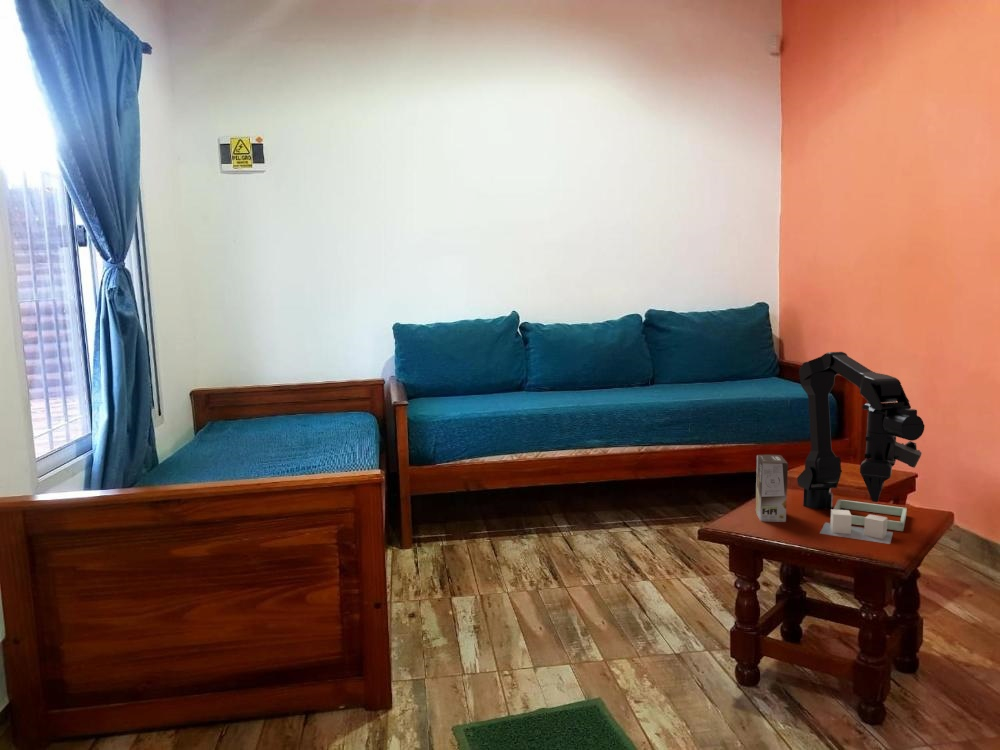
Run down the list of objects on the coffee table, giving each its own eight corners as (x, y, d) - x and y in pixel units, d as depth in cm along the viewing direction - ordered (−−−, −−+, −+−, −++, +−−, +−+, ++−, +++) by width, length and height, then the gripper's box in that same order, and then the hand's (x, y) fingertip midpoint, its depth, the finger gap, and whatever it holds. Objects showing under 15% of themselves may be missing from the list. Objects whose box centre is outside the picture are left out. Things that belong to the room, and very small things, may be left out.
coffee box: (786, 525, 189) (789, 463, 187) (760, 524, 190) (762, 462, 188) (779, 514, 198) (781, 454, 196) (754, 513, 199) (755, 453, 197)
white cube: (832, 532, 181) (833, 514, 180) (830, 527, 185) (831, 509, 184) (850, 533, 180) (851, 515, 179) (848, 528, 184) (848, 510, 183)
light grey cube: (863, 535, 179) (864, 517, 178) (868, 531, 181) (869, 514, 181) (882, 538, 176) (883, 521, 176) (886, 534, 179) (887, 517, 178)
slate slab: (819, 537, 181) (819, 533, 180) (825, 526, 188) (825, 522, 188) (889, 548, 173) (890, 543, 173) (892, 536, 180) (893, 532, 180)
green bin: (830, 524, 189) (831, 513, 189) (837, 510, 200) (838, 499, 200) (902, 535, 181) (903, 523, 181) (906, 519, 192) (906, 508, 192)
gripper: (918, 443, 163) (913, 512, 166) (921, 427, 179) (917, 491, 181) (861, 437, 169) (858, 505, 171) (869, 423, 185) (866, 484, 187)
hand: (877, 496), depth 178 cm, fingers open, 9 cm apart
